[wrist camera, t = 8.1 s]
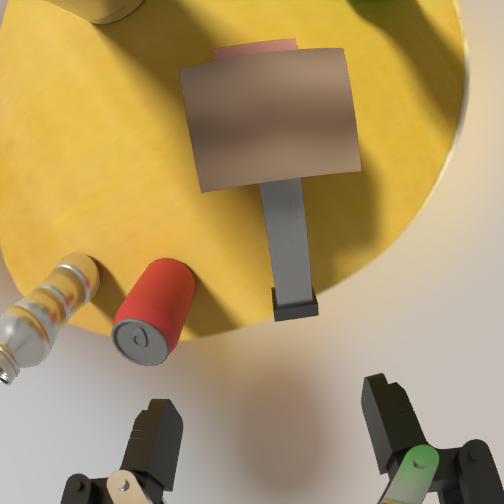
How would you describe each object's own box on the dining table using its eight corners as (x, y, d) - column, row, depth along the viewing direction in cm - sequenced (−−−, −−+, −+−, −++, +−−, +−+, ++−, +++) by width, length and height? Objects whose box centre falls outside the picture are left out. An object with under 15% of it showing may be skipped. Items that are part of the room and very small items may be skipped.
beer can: (200, 263, 34) (176, 327, 23) (192, 308, 36) (171, 377, 25) (147, 250, 33) (103, 306, 22) (144, 296, 36) (108, 358, 25)
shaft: (240, 100, 21) (237, 95, 18) (287, 94, 21) (293, 87, 17) (272, 298, 28) (275, 321, 25) (311, 292, 28) (318, 315, 24)
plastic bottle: (112, 264, 34) (21, 374, 16) (97, 300, 36) (23, 406, 18) (73, 238, 33) (-31, 327, 14) (62, 275, 35) (-23, 366, 16)
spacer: (222, 66, 25) (213, 49, 19) (287, 57, 24) (295, 38, 18) (226, 86, 26) (218, 75, 20) (291, 77, 25) (300, 63, 19)
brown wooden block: (210, 93, 26) (178, 69, 14) (308, 79, 25) (343, 48, 14) (223, 167, 29) (201, 193, 18) (319, 153, 28) (361, 170, 17)
